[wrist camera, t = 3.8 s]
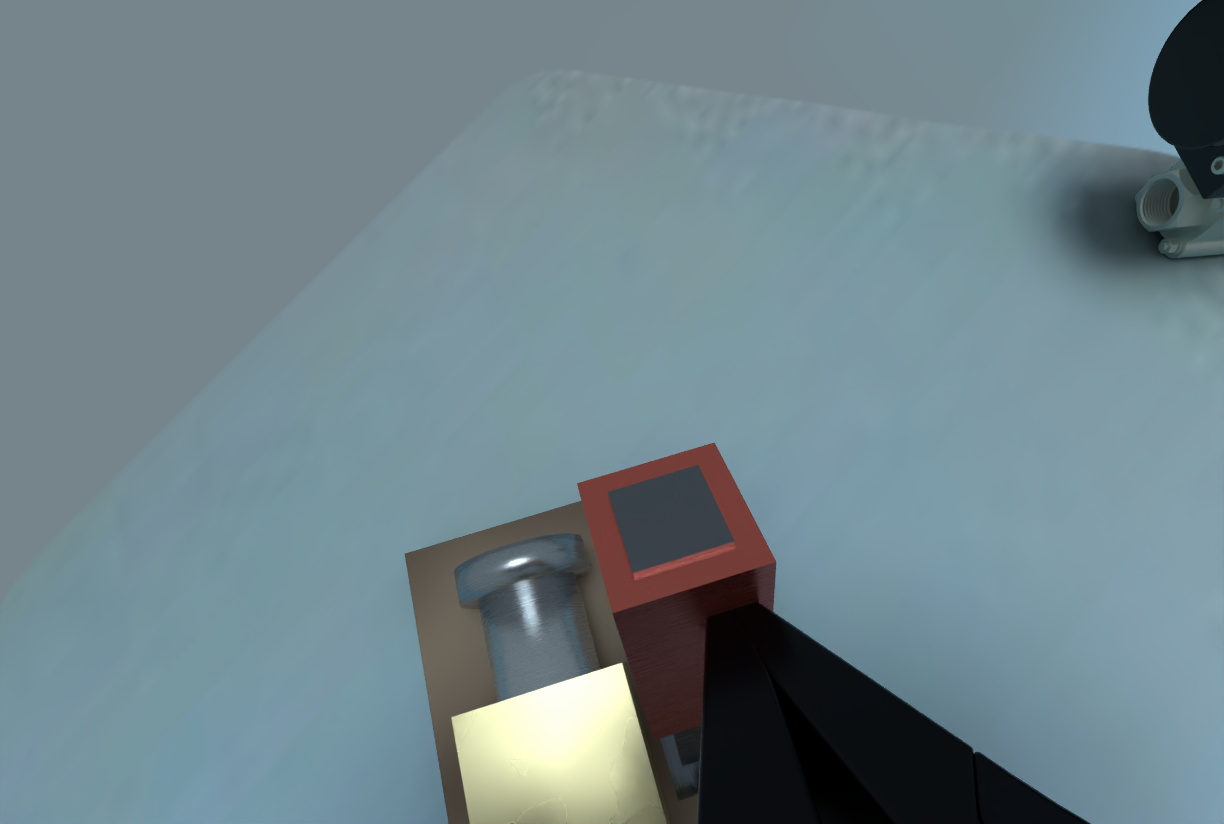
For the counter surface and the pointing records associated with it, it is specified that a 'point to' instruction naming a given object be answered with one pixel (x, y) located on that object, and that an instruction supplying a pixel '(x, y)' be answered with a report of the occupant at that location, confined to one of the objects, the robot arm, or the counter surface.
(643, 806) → the valve body
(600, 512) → the lever
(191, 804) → the counter surface
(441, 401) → the counter surface
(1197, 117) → the pneumatic valve
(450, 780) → the mounting board
